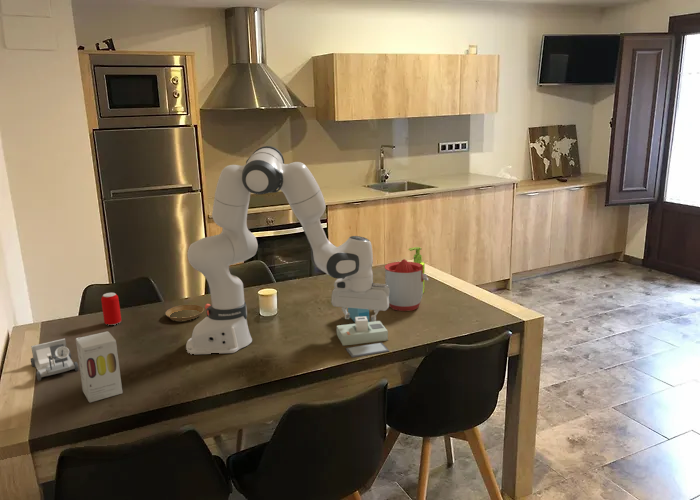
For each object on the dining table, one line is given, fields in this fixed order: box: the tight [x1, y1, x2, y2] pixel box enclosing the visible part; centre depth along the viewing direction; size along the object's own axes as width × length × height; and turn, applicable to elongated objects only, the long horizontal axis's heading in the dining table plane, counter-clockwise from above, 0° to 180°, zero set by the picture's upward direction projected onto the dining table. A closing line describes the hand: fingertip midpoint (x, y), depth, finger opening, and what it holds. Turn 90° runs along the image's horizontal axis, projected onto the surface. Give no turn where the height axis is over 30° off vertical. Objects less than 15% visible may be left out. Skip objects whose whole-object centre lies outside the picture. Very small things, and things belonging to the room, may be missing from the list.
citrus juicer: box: [384, 258, 429, 312], centre depth 228 cm, size 16×17×20 cm
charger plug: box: [354, 316, 368, 332], centre depth 201 cm, size 4×4×7 cm
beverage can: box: [100, 292, 122, 326], centre depth 219 cm, size 6×6×12 cm
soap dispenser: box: [408, 246, 426, 294], centre depth 245 cm, size 6×7×20 cm
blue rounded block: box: [347, 308, 370, 323], centre depth 217 cm, size 12×4×12 cm, turn 19°
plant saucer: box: [164, 304, 205, 322], centre depth 226 cm, size 15×15×3 cm
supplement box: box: [75, 330, 123, 404], centre depth 165 cm, size 10×9×17 cm
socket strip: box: [336, 320, 389, 346], centre depth 201 cm, size 16×10×4 cm, turn 103°
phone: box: [345, 341, 390, 359], centre depth 191 cm, size 13×7×1 cm, turn 108°
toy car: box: [30, 338, 80, 382], centre depth 182 cm, size 18×10×12 cm
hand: (360, 319), depth 200 cm, fingers open, 8 cm apart
